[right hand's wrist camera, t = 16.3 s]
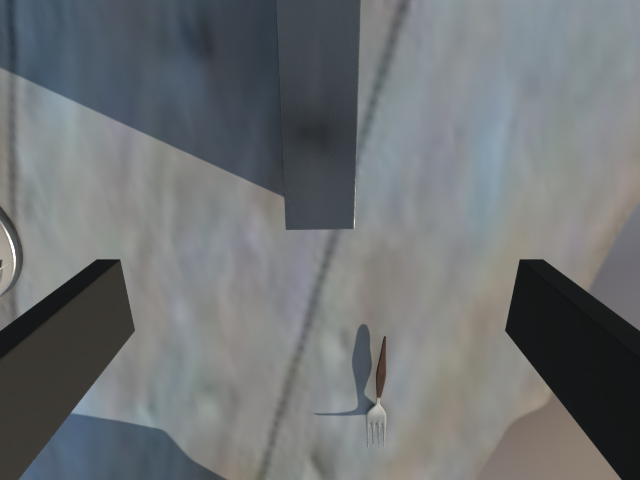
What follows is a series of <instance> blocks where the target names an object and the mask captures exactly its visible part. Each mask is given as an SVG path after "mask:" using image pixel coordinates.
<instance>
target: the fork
mask: <svg viewBox="0 0 640 480" xmlns="http://www.w3.org/2000/svg"><path fill="white" fill-rule="evenodd" d="M385 377H386V336H384V339H383V344H382V349H381V354H380V359H379V363H378V367H377V373H376V390H377V402H376V404H375V405H374V406H373V407H372V408H371V409H370V410H369V411H368V412H367V415H366V429H367V447H368V439H369V425H370V424H371V425H372V439H373V447H374V428H375V424H377V432H378V447H379V438H380V425H381V424H382V426H383V441H384V448H385V426H386V413H385V411H384V409H383V408H382V407H381V405H380V398H381V394H382V391H383V387H384V383H385Z"/></svg>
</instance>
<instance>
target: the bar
mask: <svg viewBox="0 0 640 480" xmlns="http://www.w3.org/2000/svg"><path fill="white" fill-rule="evenodd" d="M276 16H277V39H278V62H279V84H280V107H281V130H282V153H283V175H284V198H285V221H286V230H311V229H355V194H356V155H357V115H358V76H359V37H360V0H276Z"/></svg>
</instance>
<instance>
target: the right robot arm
mask: <svg viewBox="0 0 640 480" xmlns="http://www.w3.org/2000/svg"><path fill="white" fill-rule="evenodd" d="M22 263H23V253H22V246H21V242H20V239H19V236H18V234H17V231H16V229H15V227H14V225H13V224H12V222H11V220H10V219H9V217H8V216H7V214H6V213H5V212H4V211H3V209H2V208H1V207H0V296H2V295H3V294H5V293H6V292H8V291H9V290H10V289H11V288H12V287H13V286H14V284H15V283H16V281H17V280H18V278H19V276H20V273H21V269H22ZM134 331H135V329H134V324H133V319H132V314H131V309H130V305H129V300H128V295H127V290H126V285H125V280H124V276H123V271H122V266H121V261H120V259H97V260H95V261H94V262H93V263H91V264H90V265H89V266H87V267H86V268H85V269H83V270H82V271H81V272H79V273H78V274H77V275H75V276H74V277H73V278H71V279H70V280H68V281H67V282H66V283H64V284H63V285H62V286H60V287H59V288H58V289H56V290H55V291H54V292H52V293H51V294H50V295H48V296H47V297H46V298H44V299H43V300H42V301H40V302H39V303H38V304H36V305H35V306H33V307H32V308H31V309H29V310H28V311H27V312H25V313H24V314H23V315H21V316H20V317H19V318H17V319H16V320H15V321H13V322H12V323H11V324H9V325H8V326H7V327H5V328H4V329H2V330H1V331H0V480H18V479H19V478H20V477H21V476H22V474H23V473H24V472H25V471H26V469H27V468H28V467H29V465H30V464H31V463H32V462H33V460H34V459H35V458H36V456H37V455H38V454H39V453H40V451H41V450H42V449H43V447H44V446H45V445H46V444H47V442H48V441H49V440H50V439H51V437H52V436H53V435H54V433H55V432H56V431H57V430H58V428H59V427H60V426H61V424H62V423H63V422H64V421H65V419H66V418H67V417H68V416H69V414H70V413H71V412H72V410H73V409H74V408H75V407H76V405H77V404H78V403H79V401H80V400H81V399H82V398H83V396H84V395H85V394H86V392H87V391H88V390H89V389H90V387H91V386H92V385H93V384H94V382H95V381H96V380H97V378H98V377H99V376H100V375H101V373H102V372H103V371H104V369H105V368H106V367H107V366H108V364H109V363H110V362H111V361H112V359H113V358H114V357H115V355H116V354H117V353H118V352H119V350H120V349H121V348H122V346H123V345H124V344H125V343H126V341H127V340H128V339H129V337H130V336H131V335H132V334H133V332H134ZM505 331H506V332H507V334H508V335H509V336H510V337H511V339H512V340H513V341H514V343H515V344H516V345H517V346H518V348H519V349H520V350H521V352H522V353H523V354H524V355H525V357H526V358H527V359H528V361H529V362H530V363H531V364H532V366H533V367H534V368H535V369H536V371H537V372H538V373H539V375H540V376H541V377H542V378H543V380H544V381H545V382H546V384H547V385H548V386H549V387H550V389H551V390H552V391H553V392H554V394H555V395H556V396H557V398H558V399H559V400H560V401H561V403H562V404H563V405H564V407H565V408H566V409H567V410H568V412H569V413H570V414H571V415H572V417H573V418H574V419H575V421H576V422H577V423H578V424H579V426H580V427H581V428H582V430H583V431H584V432H585V433H586V435H587V436H588V437H589V438H590V440H591V441H592V442H593V444H594V445H595V446H596V447H597V449H598V450H599V451H600V453H601V454H602V455H603V456H604V458H605V459H606V460H607V462H608V463H609V464H610V465H611V467H612V468H613V469H614V471H615V472H616V473H617V474H618V476H619V477H620V478H621V479H622V480H640V331H639V330H638V329H636V328H635V327H633V326H632V325H631V324H629V323H628V322H627V321H625V320H624V319H623V318H621V317H620V316H619V315H617V314H616V313H615V312H613V311H612V310H611V309H609V308H608V307H607V306H605V305H604V304H602V303H601V302H600V301H598V300H597V299H596V298H594V297H593V296H592V295H590V294H589V293H588V292H586V291H585V290H584V289H582V288H581V287H580V286H578V285H577V284H576V283H574V282H573V281H572V280H570V279H569V278H567V277H566V276H565V275H563V274H562V273H561V272H559V271H558V270H557V269H555V268H554V267H553V266H551V265H550V264H549V263H547V262H546V261H545V260H543V259H520V261H519V266H518V271H517V276H516V280H515V285H514V290H513V295H512V300H511V305H510V309H509V314H508V319H507V324H506V329H505Z"/></svg>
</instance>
